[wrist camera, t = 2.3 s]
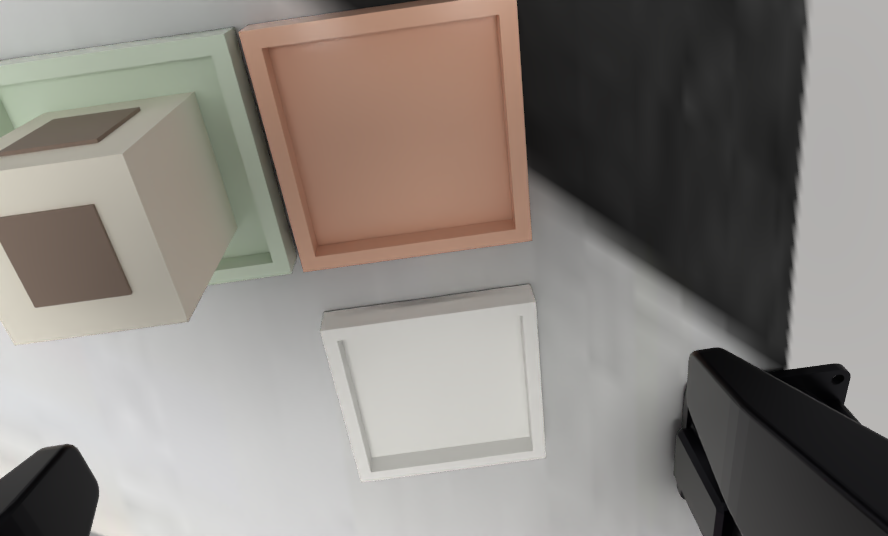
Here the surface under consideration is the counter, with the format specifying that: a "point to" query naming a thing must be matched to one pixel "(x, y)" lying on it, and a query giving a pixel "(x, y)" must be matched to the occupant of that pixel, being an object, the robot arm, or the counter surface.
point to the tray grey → (438, 382)
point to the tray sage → (222, 108)
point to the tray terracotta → (395, 128)
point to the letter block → (109, 219)
